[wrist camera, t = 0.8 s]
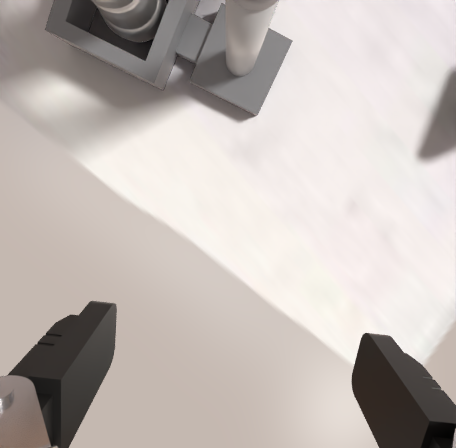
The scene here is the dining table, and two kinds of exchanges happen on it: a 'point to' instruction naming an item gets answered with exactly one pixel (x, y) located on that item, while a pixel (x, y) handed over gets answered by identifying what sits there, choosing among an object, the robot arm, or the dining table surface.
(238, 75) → the plug dock
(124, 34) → the plastic bottle
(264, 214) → the dining table surface
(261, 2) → the slender peach stick
